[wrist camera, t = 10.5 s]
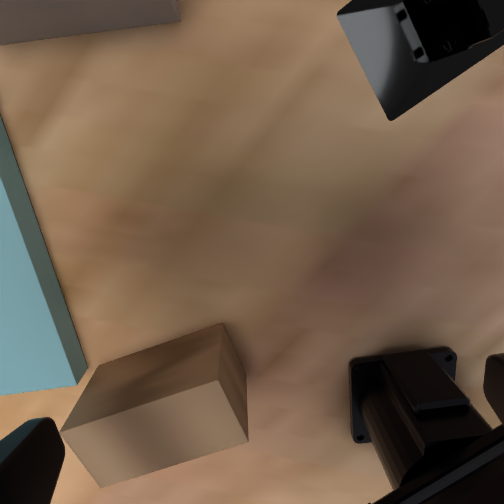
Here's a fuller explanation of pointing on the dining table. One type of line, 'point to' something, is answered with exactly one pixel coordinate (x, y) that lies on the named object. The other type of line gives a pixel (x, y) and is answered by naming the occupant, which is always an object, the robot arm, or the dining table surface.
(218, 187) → the dining table surface
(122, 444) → the walnut brick
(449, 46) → the black angular block
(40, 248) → the teal board
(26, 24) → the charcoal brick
